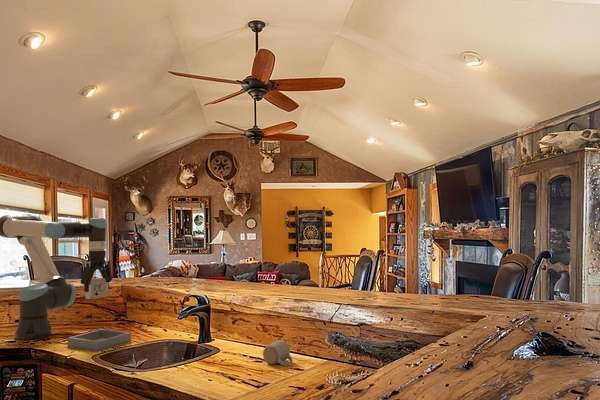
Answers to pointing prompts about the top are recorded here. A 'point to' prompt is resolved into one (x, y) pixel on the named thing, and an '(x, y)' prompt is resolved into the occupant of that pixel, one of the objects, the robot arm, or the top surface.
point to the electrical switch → (98, 288)
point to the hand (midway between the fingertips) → (96, 297)
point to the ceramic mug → (277, 353)
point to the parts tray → (99, 340)
